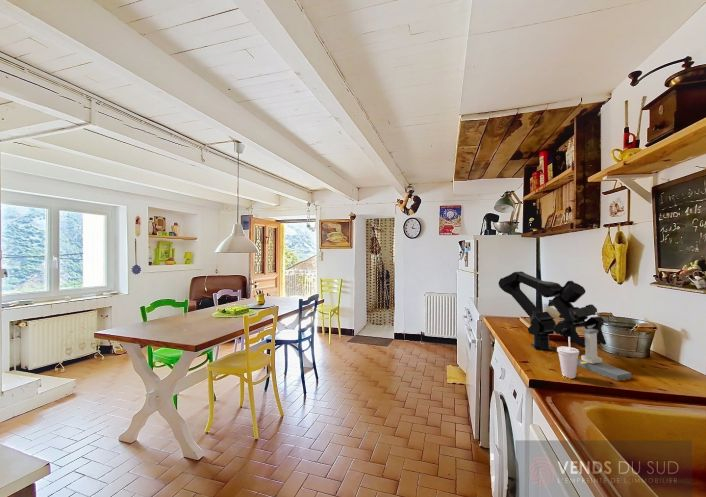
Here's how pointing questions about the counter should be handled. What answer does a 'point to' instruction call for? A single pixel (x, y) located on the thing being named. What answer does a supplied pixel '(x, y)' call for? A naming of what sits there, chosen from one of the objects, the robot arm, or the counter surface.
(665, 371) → the counter surface
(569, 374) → the smoothie
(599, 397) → the counter surface
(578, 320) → the robot arm
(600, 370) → the grey flat slab
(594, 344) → the white pillar
